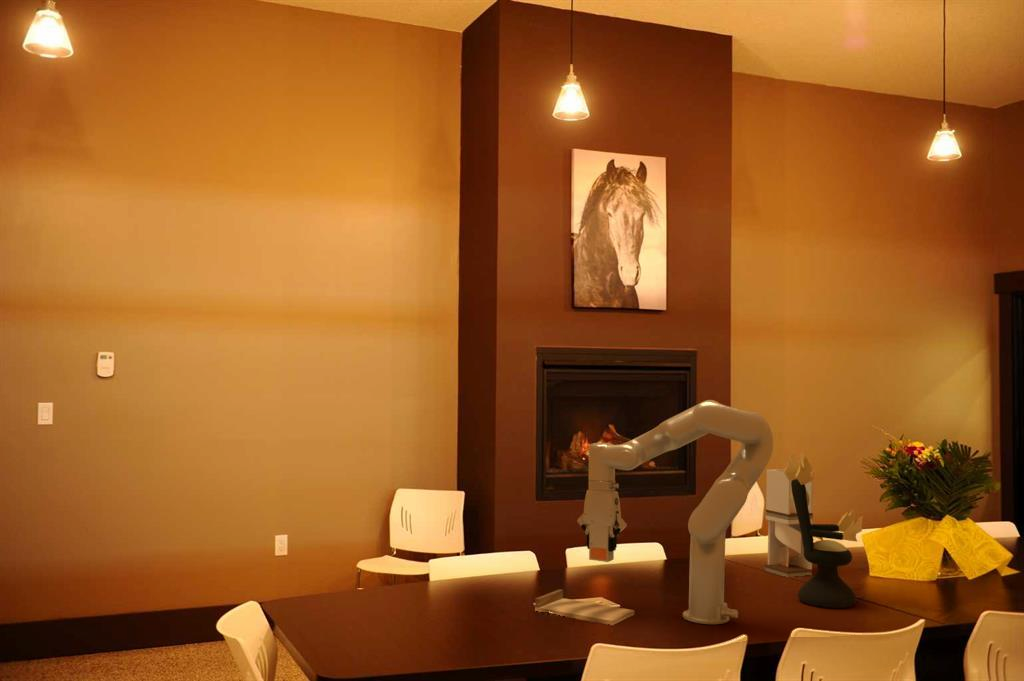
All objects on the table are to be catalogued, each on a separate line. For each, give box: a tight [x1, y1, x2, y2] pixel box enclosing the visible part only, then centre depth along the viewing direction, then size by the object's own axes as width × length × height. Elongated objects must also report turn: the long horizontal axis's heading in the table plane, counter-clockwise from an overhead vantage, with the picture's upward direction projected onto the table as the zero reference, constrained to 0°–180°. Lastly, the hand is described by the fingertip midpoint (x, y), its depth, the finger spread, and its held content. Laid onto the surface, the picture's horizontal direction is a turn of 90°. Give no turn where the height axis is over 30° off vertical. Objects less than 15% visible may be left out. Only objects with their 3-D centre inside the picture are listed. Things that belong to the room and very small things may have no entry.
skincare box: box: [588, 519, 615, 563], centre depth 275 cm, size 6×4×12 cm
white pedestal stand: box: [764, 468, 814, 578], centre depth 332 cm, size 11×11×35 cm
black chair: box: [784, 451, 864, 609], centre depth 291 cm, size 19×22×45 cm
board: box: [534, 589, 635, 626], centre depth 270 cm, size 24×14×4 cm, turn 58°
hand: (601, 548), depth 275 cm, fingers closed on skincare box, 6 cm apart
